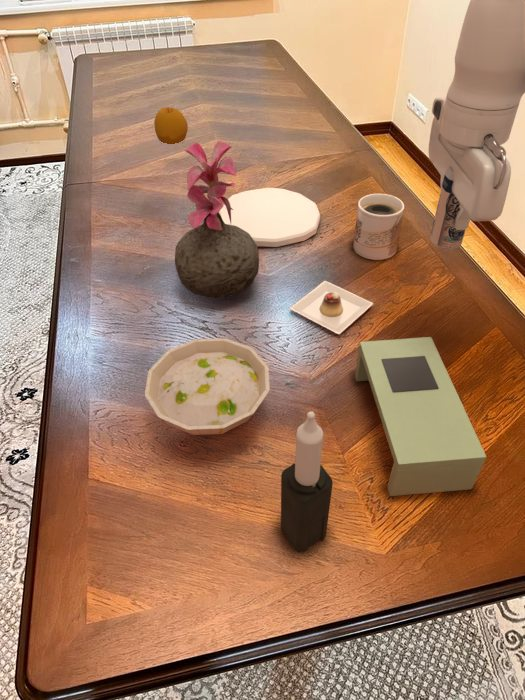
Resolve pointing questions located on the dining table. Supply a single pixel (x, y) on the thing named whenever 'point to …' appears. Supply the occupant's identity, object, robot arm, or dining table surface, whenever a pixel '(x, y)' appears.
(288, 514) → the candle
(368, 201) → the mug
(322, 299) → the dessert
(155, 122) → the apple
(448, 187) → the beer can
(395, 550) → the dining table surface
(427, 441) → the shelf
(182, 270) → the vase
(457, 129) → the robot arm
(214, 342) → the bowl
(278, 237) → the decorative plate
